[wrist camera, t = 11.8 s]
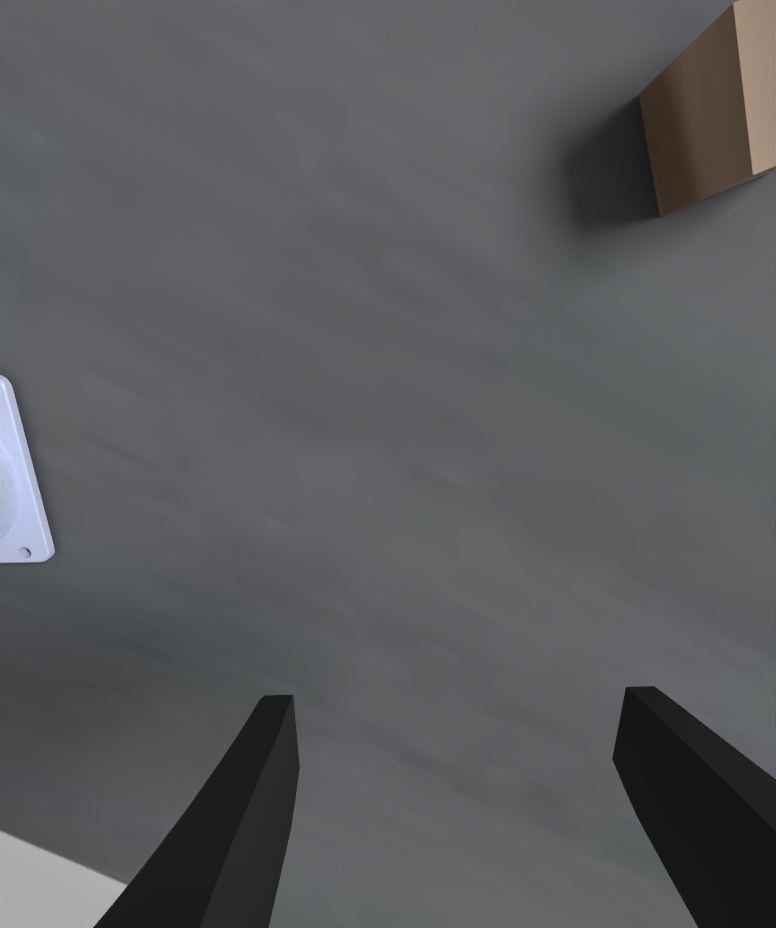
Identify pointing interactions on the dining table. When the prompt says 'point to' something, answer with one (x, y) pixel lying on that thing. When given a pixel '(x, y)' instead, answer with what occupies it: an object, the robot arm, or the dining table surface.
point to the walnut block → (715, 109)
